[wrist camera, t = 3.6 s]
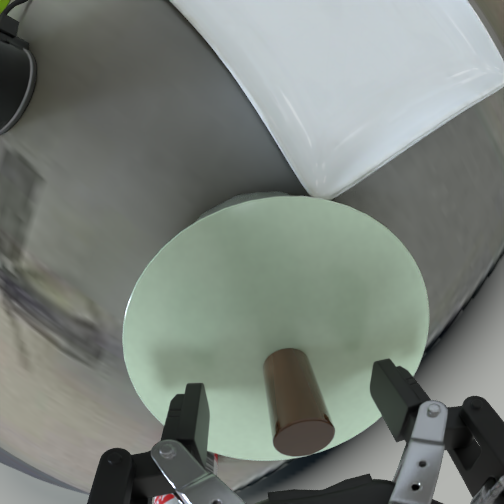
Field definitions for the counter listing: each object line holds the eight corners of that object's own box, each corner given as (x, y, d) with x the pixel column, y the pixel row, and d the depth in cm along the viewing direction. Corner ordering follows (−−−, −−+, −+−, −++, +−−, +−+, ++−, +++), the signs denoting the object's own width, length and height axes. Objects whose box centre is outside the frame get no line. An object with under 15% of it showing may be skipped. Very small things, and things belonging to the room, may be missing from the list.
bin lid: (99, 215, 13) (22, 244, 7) (428, 187, 14) (514, 203, 8) (168, 452, 18) (156, 522, 12) (395, 423, 18) (429, 481, 12)
